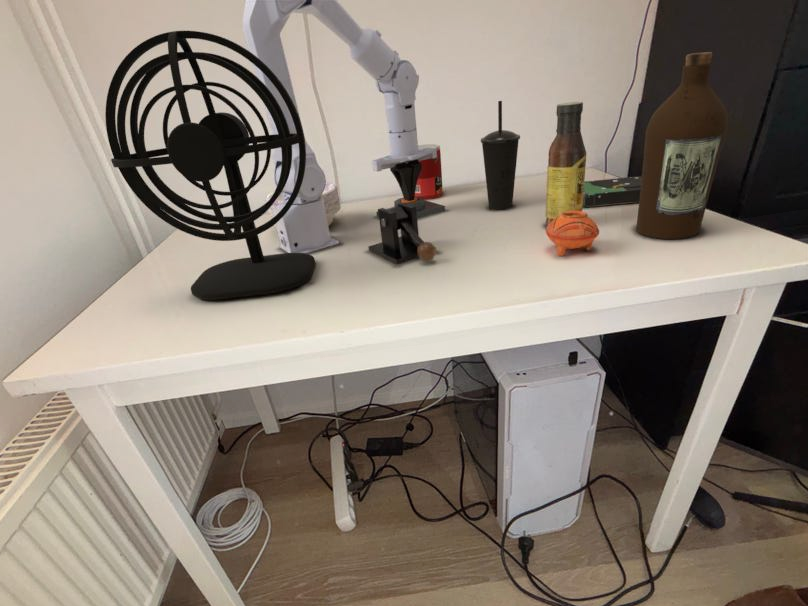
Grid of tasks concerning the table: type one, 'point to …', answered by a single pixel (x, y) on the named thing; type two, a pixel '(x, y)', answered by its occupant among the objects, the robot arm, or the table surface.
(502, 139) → the drinking cup
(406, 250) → the bracket
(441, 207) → the control block
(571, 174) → the sauce bottle
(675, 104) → the brown liquor bottle
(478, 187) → the table surface
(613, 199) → the disk drive
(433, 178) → the canned food
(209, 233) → the desk fan
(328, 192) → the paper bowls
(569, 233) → the pot
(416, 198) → the button
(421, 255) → the lever
